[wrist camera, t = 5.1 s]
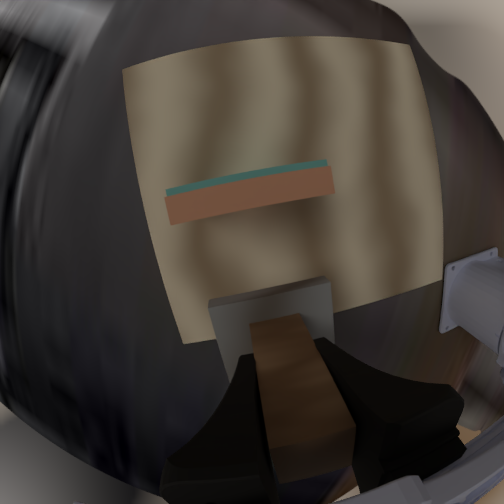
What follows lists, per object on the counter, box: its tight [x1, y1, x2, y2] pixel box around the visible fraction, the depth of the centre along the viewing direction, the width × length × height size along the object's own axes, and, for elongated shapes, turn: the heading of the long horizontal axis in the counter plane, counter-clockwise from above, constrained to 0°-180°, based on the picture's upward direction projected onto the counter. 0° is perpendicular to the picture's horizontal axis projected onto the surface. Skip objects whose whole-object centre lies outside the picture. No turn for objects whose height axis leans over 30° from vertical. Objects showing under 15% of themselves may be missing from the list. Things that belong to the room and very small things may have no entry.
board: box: [122, 36, 443, 344], centre depth 20 cm, size 24×22×1 cm
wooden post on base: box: [208, 275, 356, 484], centre depth 11 cm, size 6×5×8 cm
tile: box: [164, 159, 335, 225], centre depth 15 cm, size 7×2×8 cm, turn 101°
